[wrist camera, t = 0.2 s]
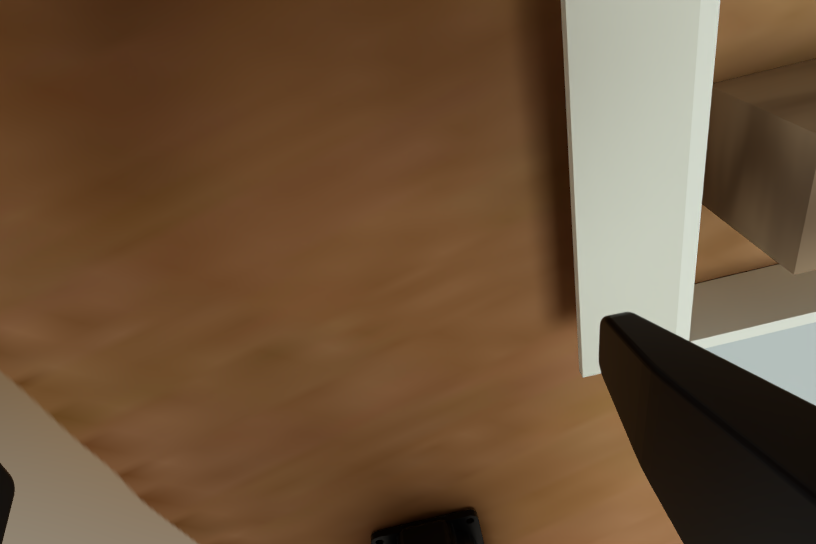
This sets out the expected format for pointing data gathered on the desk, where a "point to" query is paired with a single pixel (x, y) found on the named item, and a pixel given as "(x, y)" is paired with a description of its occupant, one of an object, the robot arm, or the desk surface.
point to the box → (766, 161)
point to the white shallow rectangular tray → (653, 178)
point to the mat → (778, 358)
